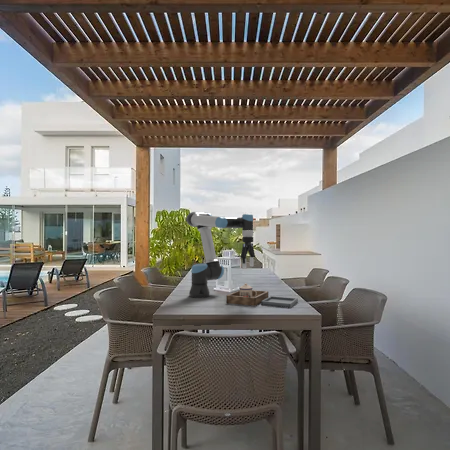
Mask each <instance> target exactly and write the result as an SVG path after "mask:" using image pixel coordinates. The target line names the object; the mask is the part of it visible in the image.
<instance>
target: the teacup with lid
mask: <svg viewBox="0 0 450 450" xmlns="http://www.w3.org/2000/svg"><path fill="white" fill-rule="evenodd" d="M239 290H240V296H243V297H256V295H257V292H256V291H257V290H256V291H255V290H254V289H253V287H252V286H250V285H248V283H244V284H243V285H242V286H239ZM252 291H255V292H256V295H255V296H252Z"/></svg>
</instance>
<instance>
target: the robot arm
mask: <svg viewBox="0 0 450 450" xmlns="http://www.w3.org/2000/svg"><path fill="white" fill-rule="evenodd" d="M186 224H188V226H190V227H193V228H194V227H195V228H196V229H197V231H198V232H199V233H200V239H201V244H202V248H203V253H204V259H205V261H204V263H203V262H202V263H196V264H193V265H192V266H191V270H190V271H191V285H190V290H189V293H188V296H189V297H190V298H195V299H197V298H198V299H199V298H202V297H203V298H208V297H210V296H211V293H210V290H209V287H208V281H209V282H210V281H216V280H220V279H221V278H222V277H223V276H224V274H225V273H224V272H225V268H224V266H223V264H221V263H220V260H219V259H217V254H216V250H215V244H214V239H213V235H212V228H218V229H241V231H242V235H241V236H242V248H241V252H240V253H241V254H240V260H241V259H242V260H241V261H242V262H241V267H242V269H247V255H248V254H249V256H250V257H249V267H254V266H255V265H254V264H255V263H254V258H255V257H256V255H255V249H254V237H253V236H254V232H255V231H254V215H253V214H252V213H245V214H244V213H243V214H242V216H241V217H234V216H233V217H229V216H228V217H227V216H214V215H212V214H211V213H210V212H205V211H204V212H203V211H202V212H201V211H192V212H190V213H188V215H187V216H186Z"/></svg>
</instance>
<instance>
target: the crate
mask: <svg viewBox="0 0 450 450" xmlns="http://www.w3.org/2000/svg"><path fill="white" fill-rule="evenodd" d="M255 291H256V292H257V295H256V292H255ZM255 291H252V296H255V295H256V297H243V296H240V289H239V290H237V291H234V292H231V293H229V294H227V295H226V298H225V299H226V304H232V305H243V306H258V305H260V304H261V301H263V300H264V299H266V298H268V297H269V291H266V290H257V289H256V290H255Z"/></svg>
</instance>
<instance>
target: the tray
mask: <svg viewBox="0 0 450 450" xmlns="http://www.w3.org/2000/svg"><path fill="white" fill-rule="evenodd" d="M298 300H299V299H298V298H296V297H286V296H285V297H284V296H272V295H270V296H268V298H266V299H264V300H263V301H261V303H260V305H261V306H267V307H276V308H287V307H288V308H289V309H291V308H292V307H293V306H294V305H296V304H298V302H299V301H298Z"/></svg>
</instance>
